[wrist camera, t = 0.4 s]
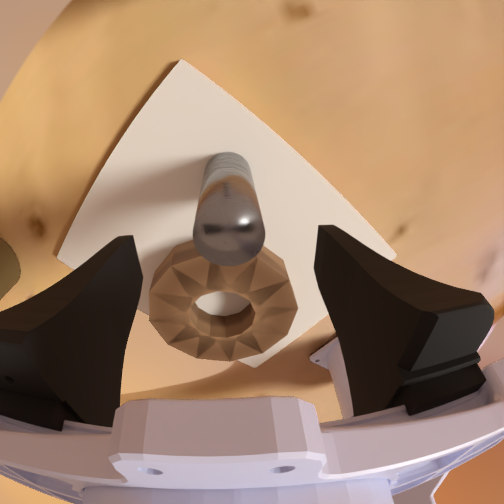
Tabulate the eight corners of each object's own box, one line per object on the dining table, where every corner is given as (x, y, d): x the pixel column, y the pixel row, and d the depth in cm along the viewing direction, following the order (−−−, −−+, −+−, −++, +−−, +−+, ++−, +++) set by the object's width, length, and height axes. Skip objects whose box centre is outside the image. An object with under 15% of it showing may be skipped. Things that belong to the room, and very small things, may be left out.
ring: (317, 285, 25) (324, 305, 23) (231, 353, 29) (232, 374, 27) (209, 205, 21) (207, 223, 18) (131, 300, 25) (124, 321, 22)
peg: (260, 171, 19) (280, 231, 13) (230, 203, 21) (233, 277, 14) (224, 142, 18) (223, 188, 12) (194, 177, 19) (178, 241, 13)
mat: (393, 250, 25) (397, 255, 24) (254, 362, 31) (255, 368, 31) (183, 59, 16) (181, 58, 15) (60, 252, 22) (56, 257, 22)
